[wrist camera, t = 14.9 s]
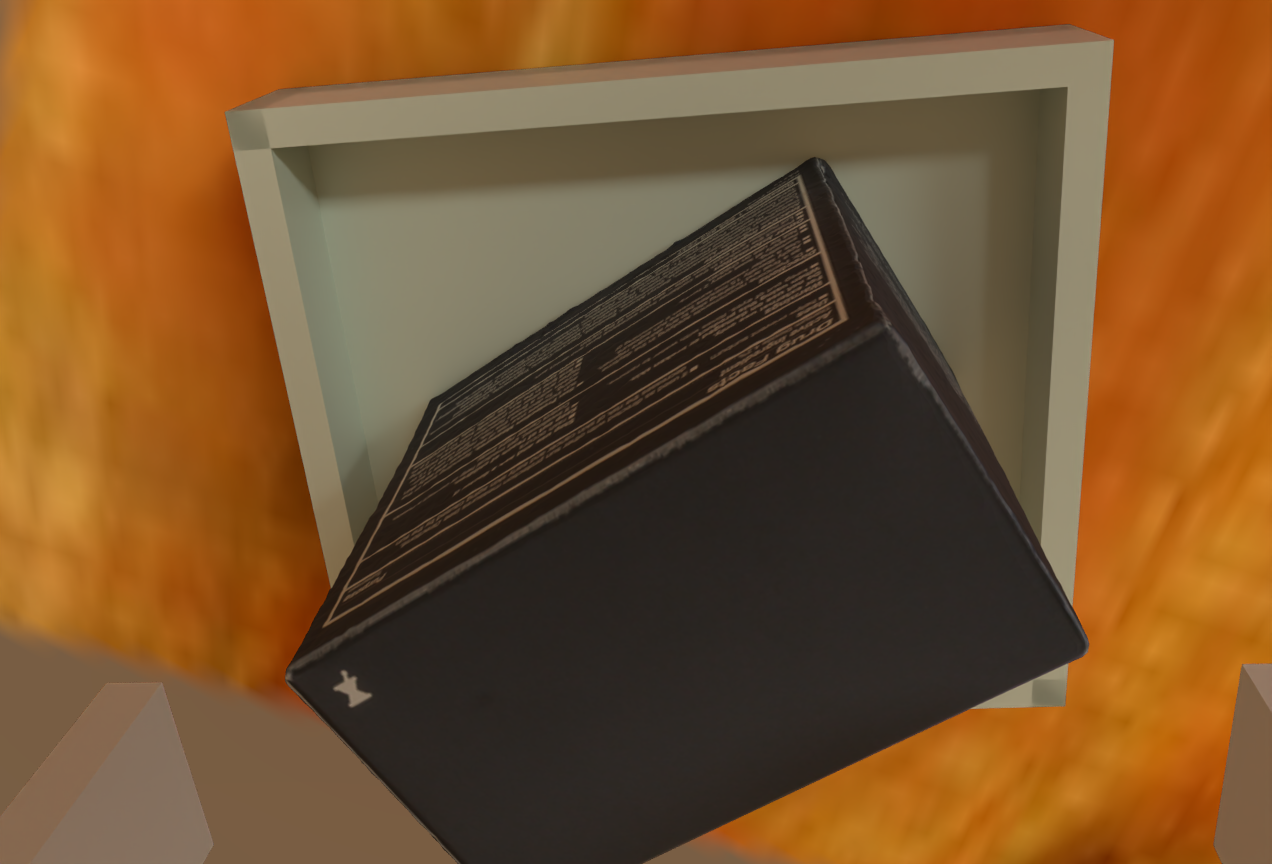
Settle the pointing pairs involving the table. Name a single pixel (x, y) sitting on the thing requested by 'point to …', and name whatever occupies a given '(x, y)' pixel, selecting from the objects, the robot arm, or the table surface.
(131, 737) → the robot arm
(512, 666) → the small box
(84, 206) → the table surface
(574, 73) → the tray
